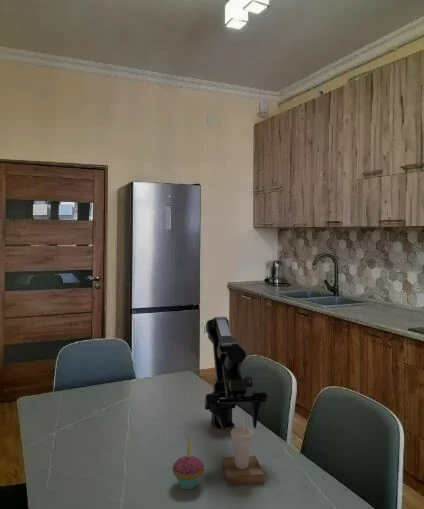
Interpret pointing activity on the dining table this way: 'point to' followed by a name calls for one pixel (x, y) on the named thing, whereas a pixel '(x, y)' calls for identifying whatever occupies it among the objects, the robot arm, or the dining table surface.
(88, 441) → the dining table surface
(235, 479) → the plinth
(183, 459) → the cupcake
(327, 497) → the dining table surface
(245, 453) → the smoothie
